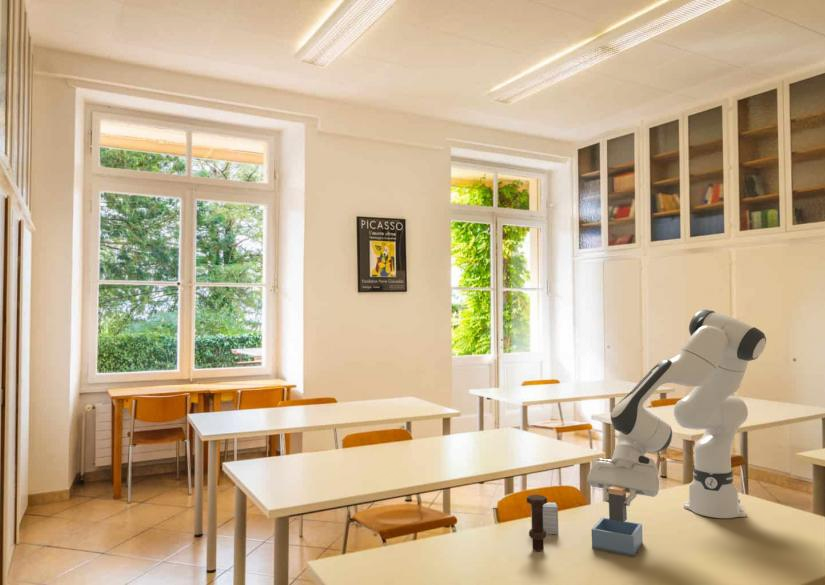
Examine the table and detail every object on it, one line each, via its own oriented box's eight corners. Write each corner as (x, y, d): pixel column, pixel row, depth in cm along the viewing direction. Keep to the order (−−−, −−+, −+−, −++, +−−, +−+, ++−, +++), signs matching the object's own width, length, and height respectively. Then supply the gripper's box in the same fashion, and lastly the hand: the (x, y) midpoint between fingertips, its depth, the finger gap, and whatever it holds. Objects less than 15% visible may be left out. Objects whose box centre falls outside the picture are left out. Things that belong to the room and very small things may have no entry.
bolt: (541, 555, 167) (540, 501, 167) (525, 550, 170) (524, 498, 170) (550, 548, 171) (549, 496, 172) (534, 544, 174) (533, 493, 175)
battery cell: (613, 516, 174) (612, 485, 175) (626, 519, 172) (625, 487, 172) (609, 519, 172) (608, 488, 172) (623, 522, 169) (622, 490, 170)
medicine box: (556, 530, 186) (556, 502, 186) (558, 535, 181) (558, 506, 182) (531, 529, 186) (530, 501, 187) (532, 534, 182) (532, 506, 182)
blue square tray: (602, 535, 180) (602, 517, 180) (642, 543, 174) (642, 523, 174) (592, 548, 170) (591, 529, 170) (634, 557, 164) (633, 536, 164)
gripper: (591, 452, 185) (579, 491, 177) (659, 460, 172) (649, 503, 164) (597, 463, 188) (585, 502, 180) (664, 473, 175) (655, 515, 167)
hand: (616, 503), depth 172 cm, fingers closed on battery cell, 4 cm apart
